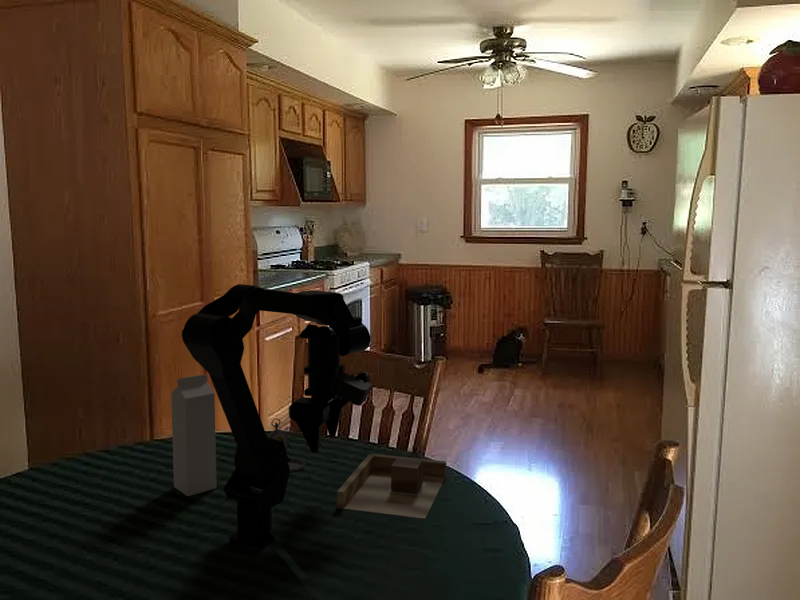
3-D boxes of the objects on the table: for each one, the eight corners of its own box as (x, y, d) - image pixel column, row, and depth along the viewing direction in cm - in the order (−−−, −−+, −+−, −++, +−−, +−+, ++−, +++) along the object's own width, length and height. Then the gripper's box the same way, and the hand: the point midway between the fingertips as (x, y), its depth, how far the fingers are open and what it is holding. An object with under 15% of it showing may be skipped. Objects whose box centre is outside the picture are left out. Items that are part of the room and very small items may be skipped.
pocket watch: (301, 474, 138) (301, 427, 137) (260, 473, 139) (260, 426, 137) (308, 460, 147) (308, 415, 145) (269, 459, 147) (268, 414, 145)
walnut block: (416, 494, 127) (417, 468, 126) (391, 491, 128) (391, 465, 128) (422, 484, 132) (423, 459, 131) (397, 481, 133) (397, 456, 132)
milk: (216, 488, 131) (215, 377, 128) (187, 497, 127) (184, 382, 124) (202, 479, 135) (200, 371, 133) (172, 487, 131) (170, 375, 128)
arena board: (424, 524, 117) (425, 501, 117) (337, 512, 121) (337, 491, 120) (445, 480, 136) (446, 461, 136) (369, 472, 140) (369, 453, 140)
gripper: (350, 375, 112) (349, 466, 113) (381, 353, 129) (380, 432, 131) (287, 370, 114) (287, 459, 116) (325, 349, 132) (325, 427, 134)
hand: (324, 443), depth 124 cm, fingers open, 9 cm apart
